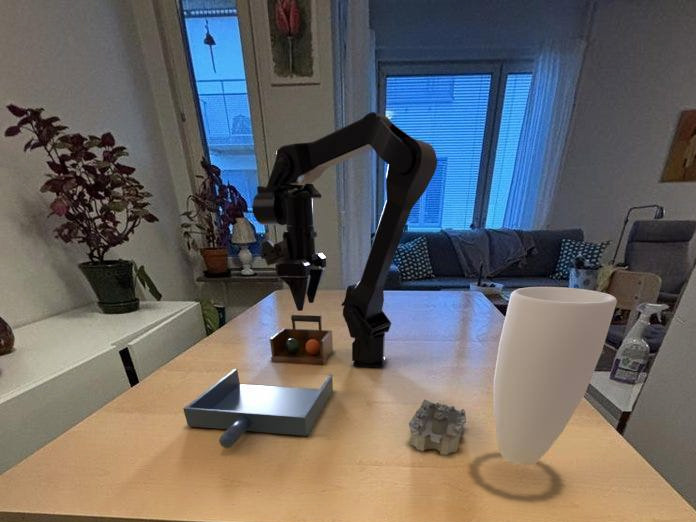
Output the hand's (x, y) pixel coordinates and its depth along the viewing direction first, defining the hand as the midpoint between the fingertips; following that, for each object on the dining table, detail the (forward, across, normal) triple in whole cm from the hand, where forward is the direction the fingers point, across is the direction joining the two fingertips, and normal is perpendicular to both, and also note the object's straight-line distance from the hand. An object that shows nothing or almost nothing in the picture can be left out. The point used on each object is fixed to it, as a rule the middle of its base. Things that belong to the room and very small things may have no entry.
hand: (305, 306), depth 90 cm
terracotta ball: (+8, +5, +2) cm, 9 cm away
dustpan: (+10, +37, +2) cm, 39 cm away
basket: (+10, +5, 0) cm, 11 cm away
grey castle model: (+10, +40, +31) cm, 51 cm away
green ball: (+8, +5, -3) cm, 9 cm away
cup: (+10, +49, +41) cm, 64 cm away
